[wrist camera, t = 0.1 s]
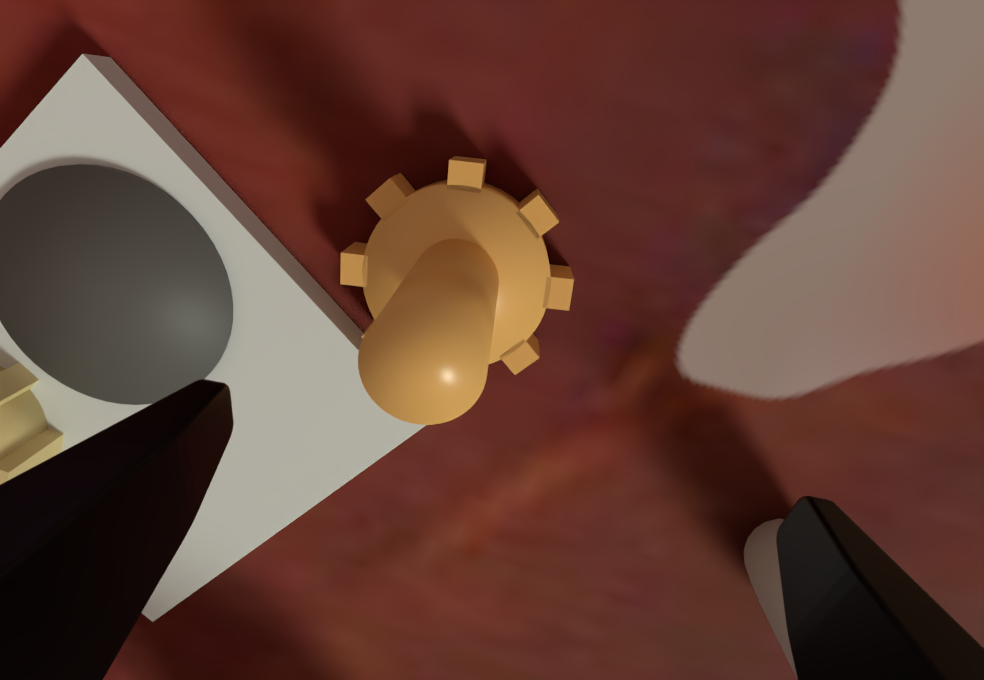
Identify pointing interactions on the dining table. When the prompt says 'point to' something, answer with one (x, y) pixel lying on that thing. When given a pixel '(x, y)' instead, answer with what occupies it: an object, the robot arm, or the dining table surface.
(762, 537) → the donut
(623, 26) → the dining table surface
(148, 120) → the carrier plate
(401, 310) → the planet gear
